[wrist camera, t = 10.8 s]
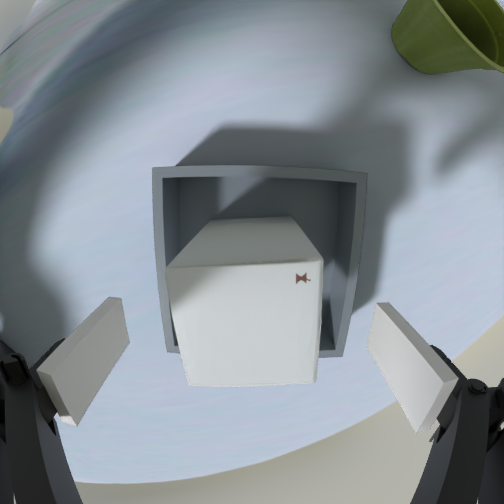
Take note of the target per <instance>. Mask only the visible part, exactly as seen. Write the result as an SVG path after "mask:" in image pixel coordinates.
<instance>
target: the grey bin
mask: <svg viewBox="0 0 504 504" xmlns="http://www.w3.org/2000/svg"><path fill="white" fill-rule="evenodd" d="M366 188H367V173H362V172H352V171H342V170H331V169H318V168H304V167H285V166H257V165H199V166H171V167H153V168H152V193H153V224H154V242H155V257H156V269H157V280H158V290H159V299H160V307H161V315H162V322H163V330H164V336H165V343H166V349H167V352H170V353H179V354H180V350H179V345H178V341H177V336H176V332H175V327H174V322H173V318H172V313H171V308H170V302H169V297H168V291H167V285H166V279H165V272H164V269H165V268H166V267H167V266H168V265H169V264H170V263H171V262H172V260H173V259H174V258H175V257H176V256H177V255H178V254H179V253H180V252H181V251H182V249H184V247H185V246H186V245H187V244H188V243H189V242H190V241H191V240H192V239H193V238H194V237H195V236H196V235H197V234H198V233H199V232H200V231H201V229H202V228H203V227H204V226H205V225H206V224H207V223H208V222H209V221H211V220H220V219H238V218H258V217H281V216H292V217H293V219H294V220H295V221H296V223H297V224H298V225H299V227H300V228H301V229H302V231H303V232H304V233H305V235H306V236H307V237H308V239H309V240H310V241H311V243H312V244H313V245H314V247H315V248H316V249H317V251H318V252H319V254H320V255H321V256H322V258H323V260H324V262H323V288H322V310H321V321H322V322H321V332H320V344H319V356H318V358H327V357H342V356H343V352H344V348H345V343H346V339H347V334H348V329H349V324H350V319H351V313H352V308H353V302H354V296H355V290H356V284H357V277H358V270H359V263H360V255H361V247H362V238H363V228H364V217H365V204H366Z"/></svg>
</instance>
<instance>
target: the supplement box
mask: <svg viewBox="0 0 504 504" xmlns="http://www.w3.org/2000/svg"><path fill="white" fill-rule="evenodd" d="M323 262H324V260H323V258H322V256H321V255H320V254H319V252H318V251H317V249H316V248H315V247H314V245H313V244H312V243H311V241H310V240H309V239H308V237H307V236H306V235H305V233H304V232H303V231H302V229H301V228H300V227H299V225H298V224H297V223H296V221H295V220H294V219H293V217H292V216H281V217H258V218H238V219H220V220H211V221H209V222H208V223H207V224H206V225H205V226H204V227H203V228H202V229H201V231H200V232H199V233H198V234H197V235H196V236H195V237H194V238H193V239H192V240H191V241H190V242H189V243H188V244H187V245H186V246H185V247H184V249H182V251H181V252H180V253H179V254H178V255H177V256H176V257H175V258H174V259H173V260H172V262H171V263H170V264H169V265H168V266H167V267H166V268H165V269H164V272H165V279H166V285H167V291H168V297H169V302H170V308H171V313H172V318H173V322H174V327H175V332H176V336H177V341H178V345H179V350H180V354H181V358H182V362H183V366H184V369H185V373H186V377H187V381H188V384H189V385H190V386H213V387H246V386H268V385H290V384H304V383H314V382H315V381H316V379H317V370H318V356H319V344H320V332H321V322H322V321H321V310H322V288H323Z"/></svg>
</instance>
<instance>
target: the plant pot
mask: <svg viewBox="0 0 504 504" xmlns="http://www.w3.org/2000/svg"><path fill="white" fill-rule="evenodd" d="M391 34H392V39H393V42H394V45H395V47H396V49H397V50H398V52H399V53H400V54H401V55H402V56H403V57H404V58H405V59H406V60H407V61H408V62H409V64H410V65H411V66H413V67H414V68H415V69H417V70H419V71H421V72H423V73H426V74H439V73H446V72H453V71H460V70H470V69H480V68H482V69H485V70H498V71H500V72H502V73H504V10H503V9H502V7H501V6H500V5H499V3H498V2H497V1H496V0H407V2H406V4H405V6H404V7H403V9H402V11H401V12H400V14H399V16H398V17H397V19H396V21H395V23H394V24H393V27H392V32H391Z"/></svg>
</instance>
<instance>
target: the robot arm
mask: <svg viewBox="0 0 504 504" xmlns="http://www.w3.org/2000/svg"><path fill="white" fill-rule="evenodd" d="M129 343H130V341H129V336H128V332H127V327H126V322H125V316H124V311H123V305H122V299H121V298H116V297H108V298H107V299H106V300H105V301H104V302H103V303H102V304H101V305H100V306H99V307H98V308H97V309H96V310H95V311H93V312H92V313H91V314H90V315H89V316H88V317H87V318H86V319H85V320H84V321H83V322H82V323H81V324H80V325H79V326H78V327H77V328H76V329H75V330H74V331H73V332H72V333H71V334H70V335H69V336H68V337H67V338H66V339H65V338H64V339H62V340H60V341H58V342H56V343H55V344H54V345H53V346H52V347H51V348H50V349H49V351H47V352H46V353H45V355H43V356H42V357H41V358H40V359H39V360H38V361H37V362H36V364H35V365H34V366H33V367H32V368H31V369H30V370H29V369H28V366H27V364H26V362H25V359H24V357H23V356H22V355H21V354H19V353H14V352H13V351H12V350H11V349H10V348H9V347H8V346H6V345H5V344H4V343H3V342H1V341H0V504H14V495H15V500H16V504H83V503H82V500H81V498H80V495H79V493H78V491H77V488H76V485H75V483H74V480H73V477H72V475H71V472H70V469H69V466H68V463H67V460H66V456H65V453H64V450H63V446H62V443H61V439H60V435H59V431H58V427H57V423H56V421H55V419H54V416H55V414H56V413H57V412H58V414H59V416H60V418H61V419H62V421H63V422H65V423H68V424H71V425H74V426H76V427H77V426H78V424H79V422H80V421H81V419H82V417H83V416H84V414H85V412H86V411H87V409H88V407H89V406H90V404H91V402H92V401H93V399H94V397H95V396H96V394H97V393H98V391H99V389H100V388H101V386H102V385H103V383H104V381H105V380H106V378H107V377H108V375H109V374H110V372H111V370H112V369H113V367H114V366H115V364H116V363H117V361H118V360H119V358H120V357H121V355H122V353H123V352H124V350H125V349H126V347H127V346H128V344H129ZM366 348H367V349H368V351H369V353H370V354H371V356H372V358H373V359H374V361H375V363H376V364H377V366H378V368H379V369H380V371H381V373H382V374H383V376H384V378H385V380H386V381H387V383H388V385H389V386H390V388H391V390H392V392H393V393H394V395H395V397H396V399H397V400H398V402H399V404H400V406H401V407H402V409H403V411H404V413H405V414H406V416H407V418H408V420H409V422H410V424H411V425H412V427H413V429H414V431H415V433H419V432H422V431H425V430H428V429H430V428H431V427H432V425H433V424H434V422H435V420H436V419H437V420H438V422H439V423H440V425H439V427H438V428H437V430H436V431H435V433H434V434H433V436H432V438H431V439H430V441H429V442H431V441H432V440H433V439H434V441H433V445H432V448H431V451H430V454H429V458H428V460H427V463H426V466H425V469H424V472H423V474H422V477H421V479H420V482H419V485H418V487H417V489H416V492H415V494H414V496H413V499H412V501H411V503H410V504H476V503H477V500H478V504H504V428H503V429H502V430H501V427H500V426H501V424H502V423H503V421H504V378H503V379H502V380H501V382H500V384H499V385H498V387H491V388H488V387H487V386H486V384H485V383H483V382H482V381H480V380H477V379H468V380H467V378H466V377H465V376H464V375H463V374H462V373H461V372H460V371H459V370H458V368H457V367H456V366H455V365H454V364H453V363H451V360H450V359H449V358H447V356H446V355H445V354H444V353H443V352H442V351H441V350H440V349H438V348H437V347H435V346H433V345H429V344H428V343H427V342H426V341H425V340H424V339H423V338H422V337H421V336H420V335H419V333H418V332H417V331H416V330H415V329H414V328H413V327H412V326H411V325H410V324H409V323H408V322H407V321H406V320H405V319H404V318H403V317H402V316H401V315H400V313H399V312H398V311H397V310H396V309H395V308H394V307H393V306H392V305H391V304H390V303H389V302H386V303H376V306H375V311H374V316H373V320H372V325H371V329H370V333H369V337H368V341H367V345H366Z"/></svg>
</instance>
